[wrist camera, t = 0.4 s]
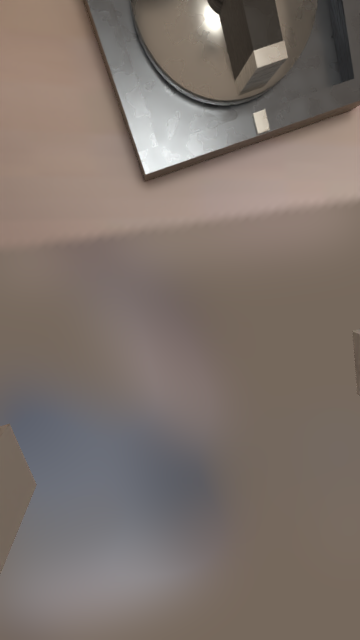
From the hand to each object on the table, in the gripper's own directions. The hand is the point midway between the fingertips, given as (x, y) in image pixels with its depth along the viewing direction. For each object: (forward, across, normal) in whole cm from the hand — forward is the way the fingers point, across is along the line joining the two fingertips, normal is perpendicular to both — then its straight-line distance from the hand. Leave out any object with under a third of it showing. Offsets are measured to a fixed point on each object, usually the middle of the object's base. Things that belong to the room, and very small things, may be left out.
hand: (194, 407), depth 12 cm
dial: (+24, +12, +25) cm, 37 cm away
